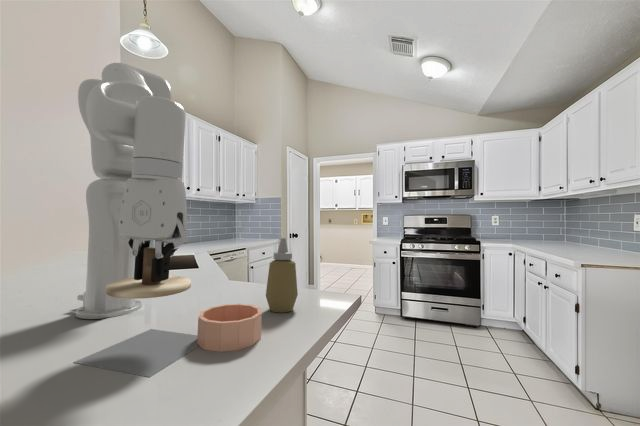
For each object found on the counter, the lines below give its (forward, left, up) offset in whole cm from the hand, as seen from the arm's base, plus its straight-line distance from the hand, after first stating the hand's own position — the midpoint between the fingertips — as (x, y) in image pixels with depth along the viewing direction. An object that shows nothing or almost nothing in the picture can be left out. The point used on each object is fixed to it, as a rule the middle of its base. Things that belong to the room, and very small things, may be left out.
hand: (151, 278), depth 48 cm
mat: (+1, 0, -12) cm, 12 cm away
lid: (0, 0, -2) cm, 2 cm away
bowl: (+11, +8, -12) cm, 18 cm away
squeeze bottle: (+13, +28, -12) cm, 33 cm away
